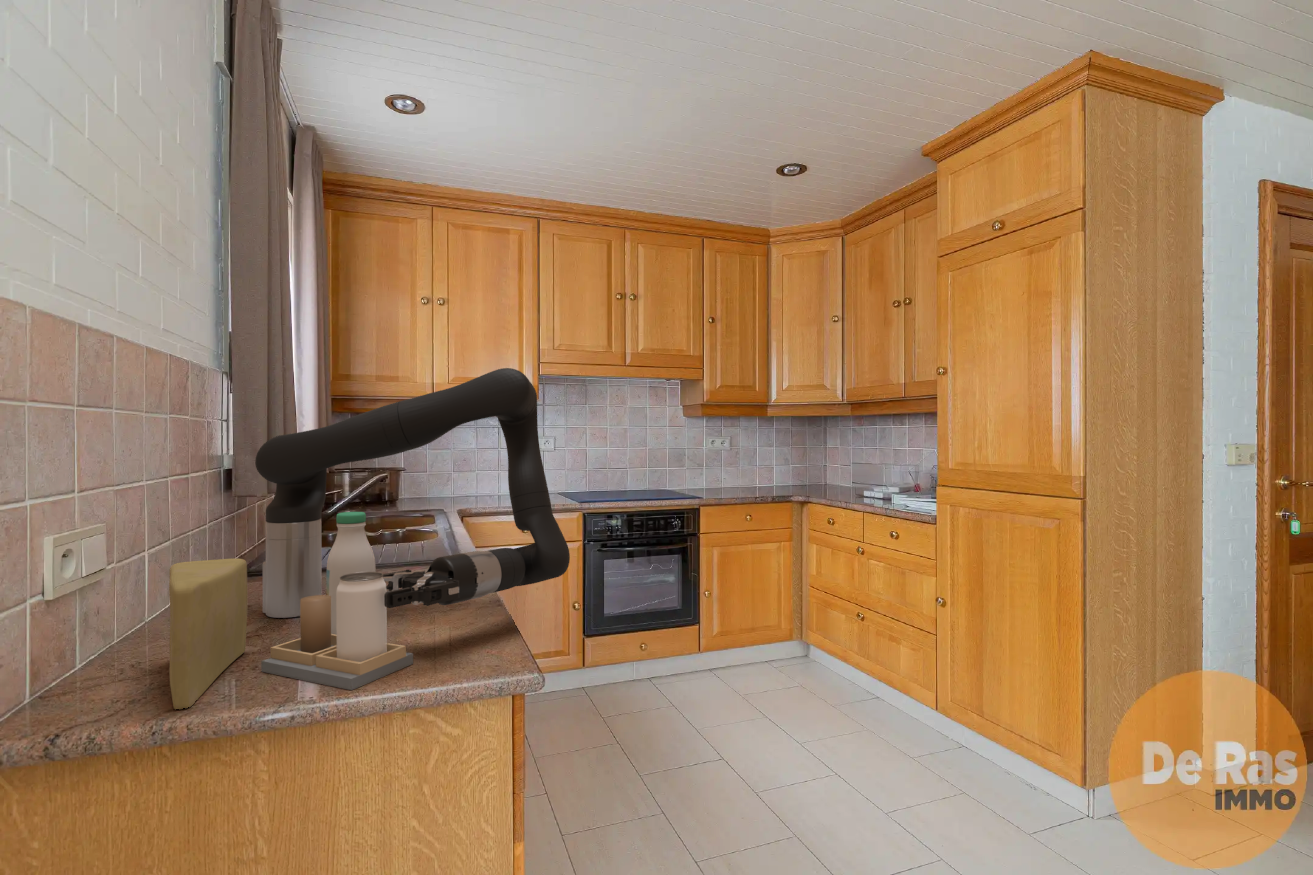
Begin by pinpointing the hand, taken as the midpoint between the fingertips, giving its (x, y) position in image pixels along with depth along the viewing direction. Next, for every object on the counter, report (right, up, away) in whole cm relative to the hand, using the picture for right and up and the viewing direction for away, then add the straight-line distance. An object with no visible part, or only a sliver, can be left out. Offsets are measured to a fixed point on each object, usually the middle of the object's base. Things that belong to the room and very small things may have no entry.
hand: (369, 595), depth 95 cm
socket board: (-5, -10, +1) cm, 12 cm away
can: (-1, -9, -1) cm, 9 cm away
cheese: (-22, -11, -4) cm, 25 cm away
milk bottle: (-11, -11, +20) cm, 25 cm away
